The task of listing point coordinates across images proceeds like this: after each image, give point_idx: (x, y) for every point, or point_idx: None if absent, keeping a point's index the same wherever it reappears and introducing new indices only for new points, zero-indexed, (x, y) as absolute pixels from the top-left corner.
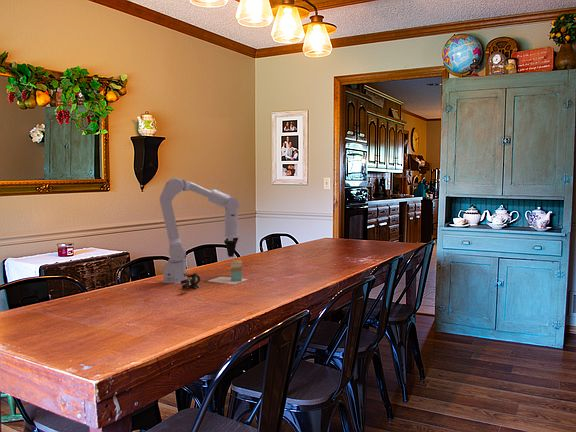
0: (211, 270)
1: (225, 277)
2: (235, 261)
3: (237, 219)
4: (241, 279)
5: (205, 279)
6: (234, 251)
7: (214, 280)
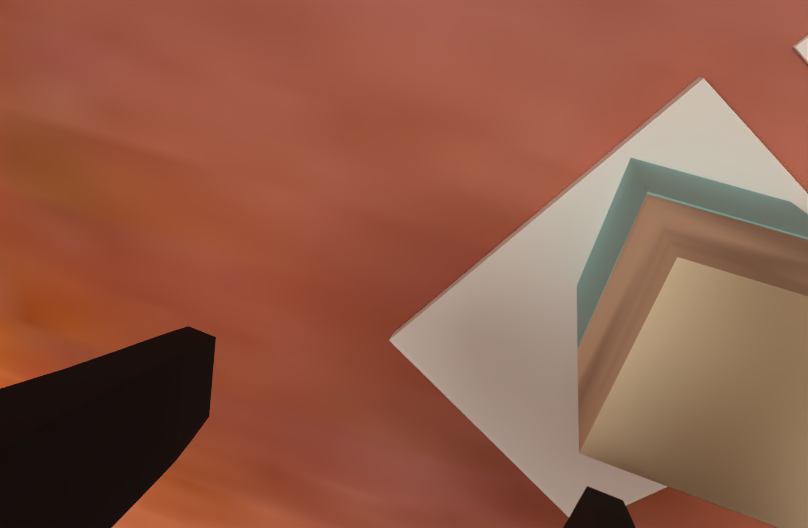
0: (33, 302)
1: (456, 319)
2: (739, 424)
3: None
4: (799, 211)
5: (426, 475)
6: (172, 364)
7: (583, 465)
